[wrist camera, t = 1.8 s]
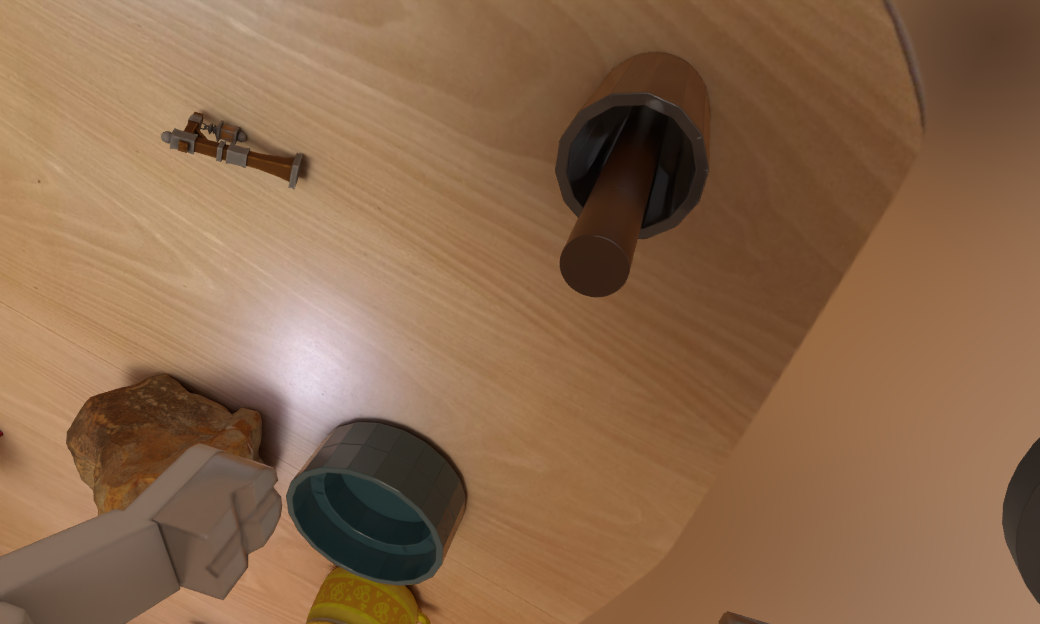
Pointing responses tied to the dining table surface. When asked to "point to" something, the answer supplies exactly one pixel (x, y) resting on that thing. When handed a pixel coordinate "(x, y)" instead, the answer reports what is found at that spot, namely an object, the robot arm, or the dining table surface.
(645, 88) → the holder
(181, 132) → the wooden lamp post
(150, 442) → the orange rock
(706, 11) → the dining table surface
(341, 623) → the mug
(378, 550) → the bowl
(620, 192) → the stick
